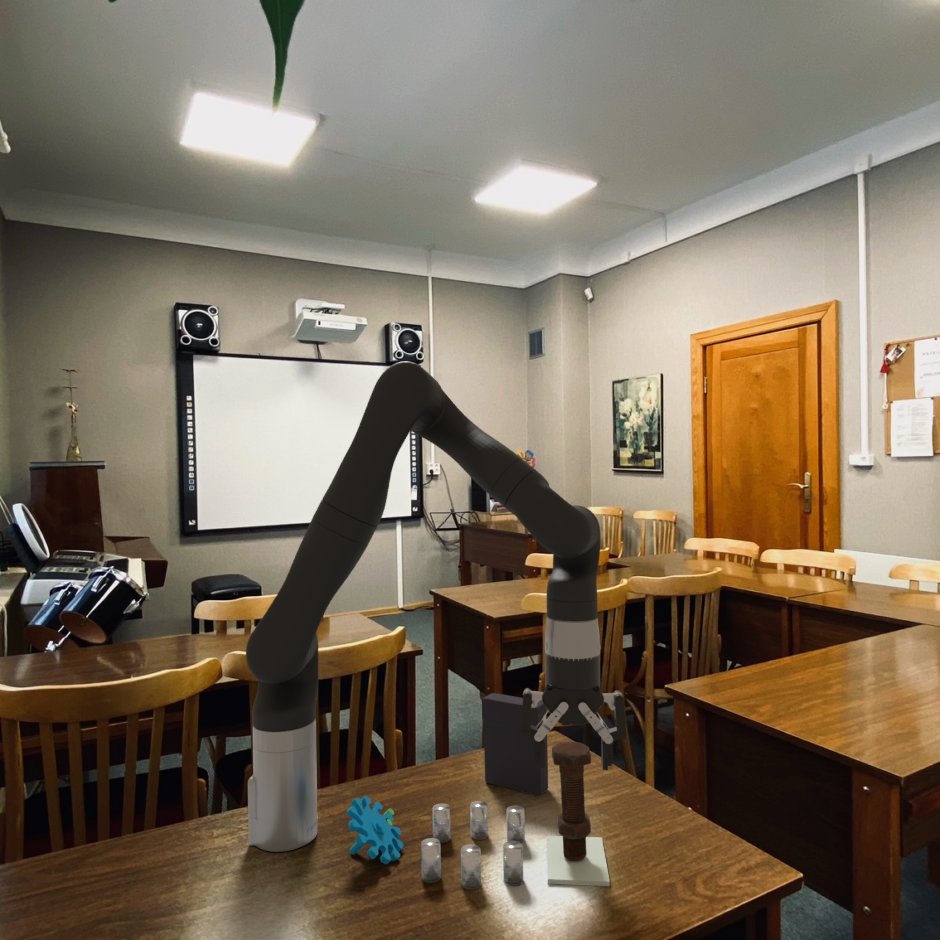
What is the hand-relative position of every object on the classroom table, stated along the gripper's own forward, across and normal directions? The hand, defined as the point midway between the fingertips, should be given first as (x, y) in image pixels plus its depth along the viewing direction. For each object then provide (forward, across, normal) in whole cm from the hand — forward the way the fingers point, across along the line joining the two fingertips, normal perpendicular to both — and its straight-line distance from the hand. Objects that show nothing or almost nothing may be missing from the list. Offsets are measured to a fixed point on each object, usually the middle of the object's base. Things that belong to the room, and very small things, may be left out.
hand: (573, 767), depth 95 cm
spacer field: (+13, +14, 0) cm, 19 cm away
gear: (+14, +28, 0) cm, 31 cm away
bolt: (+13, 0, 0) cm, 13 cm away
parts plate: (+13, 0, 0) cm, 13 cm away
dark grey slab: (+13, +9, -23) cm, 28 cm away
